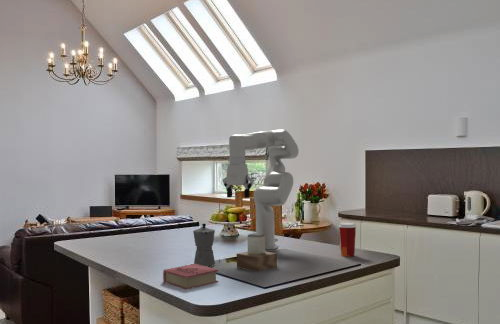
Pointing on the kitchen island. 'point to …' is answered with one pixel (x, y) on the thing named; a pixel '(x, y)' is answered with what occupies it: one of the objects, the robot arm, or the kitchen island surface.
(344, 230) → the coffee cup
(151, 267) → the kitchen island surface
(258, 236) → the tea tin
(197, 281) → the book
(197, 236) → the coffeepot
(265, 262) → the walnut box
